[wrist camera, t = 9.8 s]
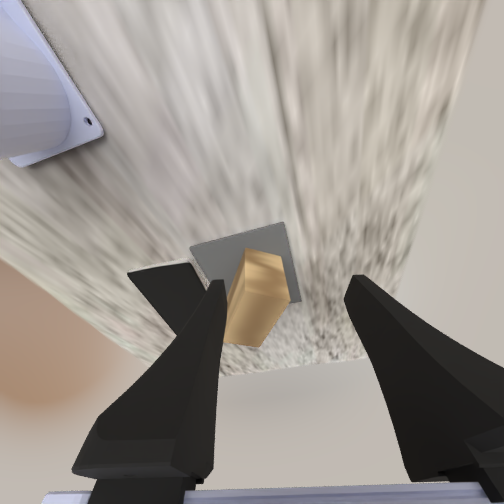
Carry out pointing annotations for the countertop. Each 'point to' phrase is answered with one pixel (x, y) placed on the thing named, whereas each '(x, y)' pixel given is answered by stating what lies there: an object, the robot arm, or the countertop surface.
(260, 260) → the oak slab
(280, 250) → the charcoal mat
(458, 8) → the countertop surface
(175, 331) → the smartphone
